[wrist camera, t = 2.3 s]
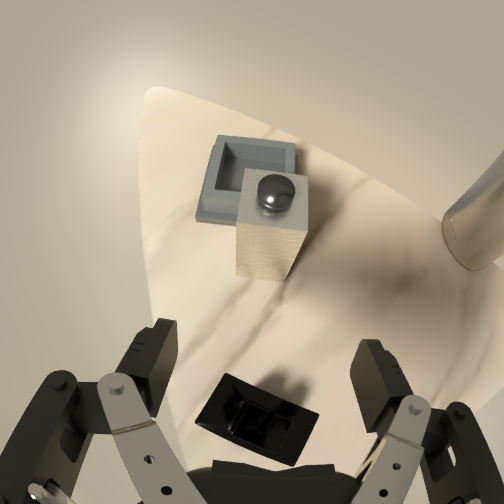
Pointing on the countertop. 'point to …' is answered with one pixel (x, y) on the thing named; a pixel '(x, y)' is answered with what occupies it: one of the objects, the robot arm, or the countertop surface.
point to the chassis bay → (238, 173)
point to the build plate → (257, 420)
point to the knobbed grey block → (270, 223)
